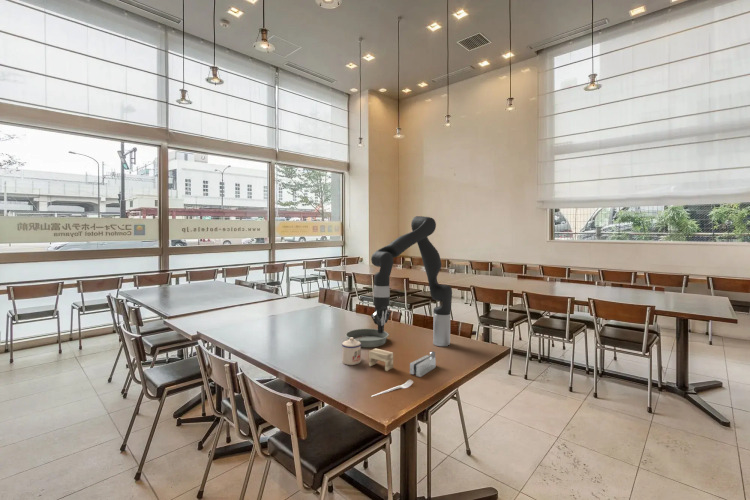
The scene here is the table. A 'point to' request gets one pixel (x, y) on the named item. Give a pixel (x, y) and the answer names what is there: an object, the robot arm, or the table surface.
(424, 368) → the fixed jaw
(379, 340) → the cake pan
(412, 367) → the moving jaw
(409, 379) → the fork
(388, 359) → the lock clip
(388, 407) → the table surface
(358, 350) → the teacup with lid
